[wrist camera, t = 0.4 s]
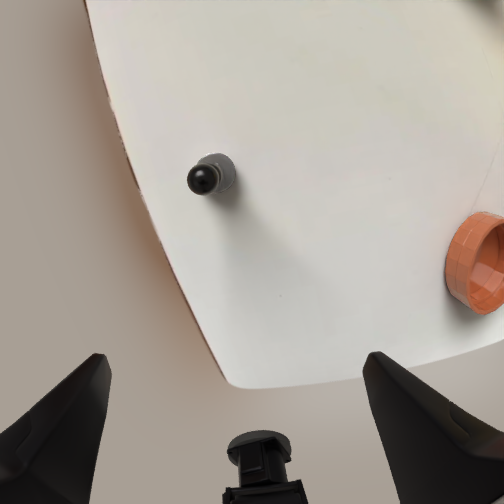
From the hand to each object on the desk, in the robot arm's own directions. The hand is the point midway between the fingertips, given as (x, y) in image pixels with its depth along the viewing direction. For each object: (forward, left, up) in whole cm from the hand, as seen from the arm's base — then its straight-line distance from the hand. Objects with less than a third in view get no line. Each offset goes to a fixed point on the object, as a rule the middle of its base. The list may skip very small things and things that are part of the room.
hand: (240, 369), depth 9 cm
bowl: (-13, -25, -18) cm, 33 cm away
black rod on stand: (+6, -1, -18) cm, 19 cm away
